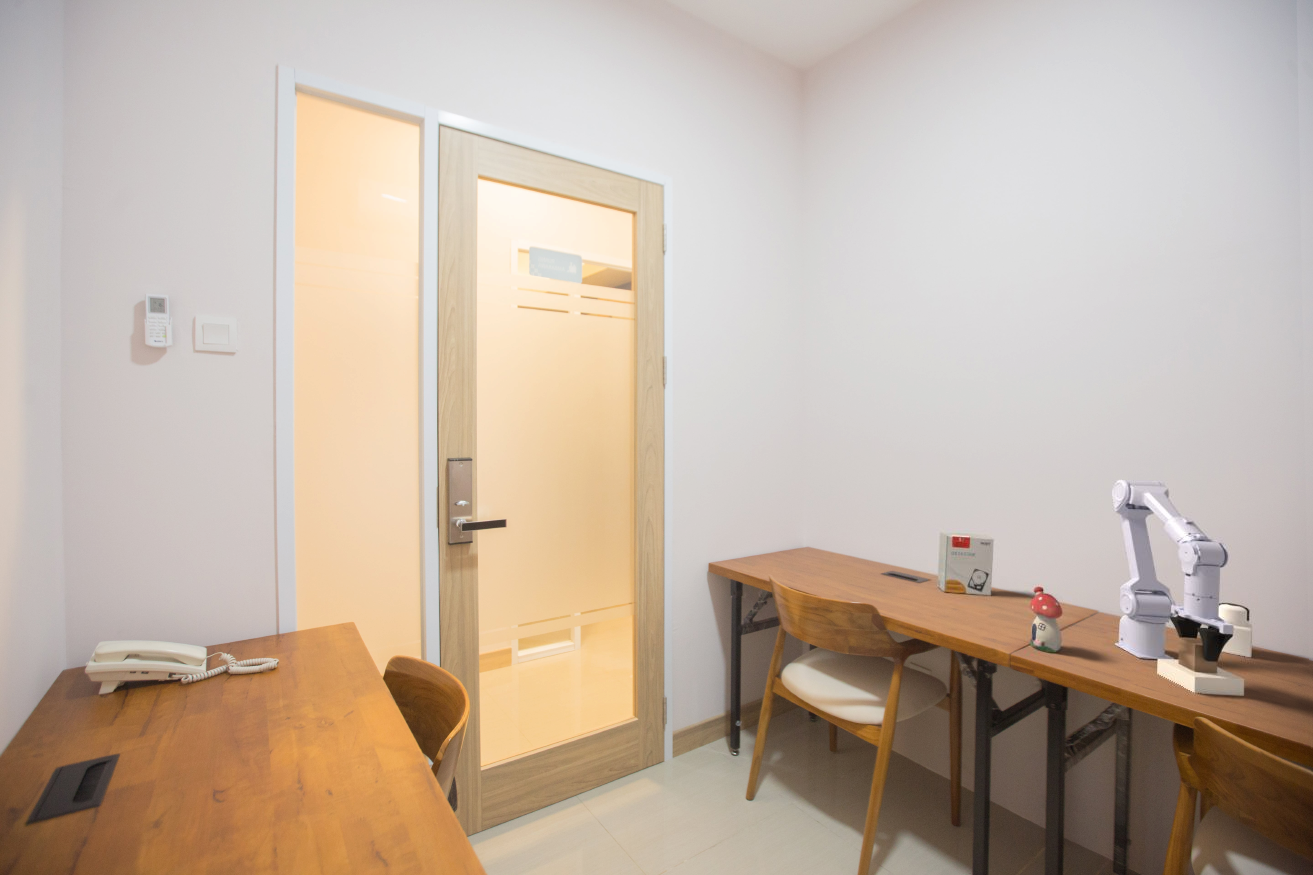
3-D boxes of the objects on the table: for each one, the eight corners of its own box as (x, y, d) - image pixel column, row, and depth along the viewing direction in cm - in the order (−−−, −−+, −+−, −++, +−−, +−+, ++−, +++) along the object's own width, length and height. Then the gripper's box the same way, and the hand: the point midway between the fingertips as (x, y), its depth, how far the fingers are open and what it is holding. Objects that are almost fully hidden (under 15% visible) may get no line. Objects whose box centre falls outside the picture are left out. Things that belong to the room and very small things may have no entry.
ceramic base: (1157, 675, 134) (1157, 658, 134) (1202, 677, 134) (1203, 660, 134) (1194, 695, 124) (1194, 676, 124) (1243, 697, 124) (1244, 679, 124)
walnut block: (1178, 663, 132) (1178, 637, 131) (1200, 664, 131) (1200, 638, 131) (1194, 671, 127) (1194, 644, 127) (1217, 672, 127) (1217, 645, 126)
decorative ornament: (1026, 639, 155) (1027, 584, 155) (1055, 643, 153) (1056, 586, 153) (1034, 651, 147) (1036, 592, 146) (1065, 655, 144) (1067, 595, 144)
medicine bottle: (1213, 643, 156) (1214, 599, 156) (1251, 651, 151) (1252, 605, 150) (1212, 650, 151) (1213, 604, 151) (1251, 658, 146) (1252, 610, 145)
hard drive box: (943, 592, 201) (945, 535, 200) (936, 587, 208) (938, 531, 208) (992, 595, 198) (994, 537, 198) (983, 590, 206) (985, 534, 205)
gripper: (1157, 585, 137) (1155, 642, 137) (1208, 603, 122) (1206, 667, 122) (1190, 586, 136) (1188, 644, 136) (1245, 605, 121) (1243, 669, 121)
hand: (1199, 655), depth 129 cm, fingers open, 6 cm apart
